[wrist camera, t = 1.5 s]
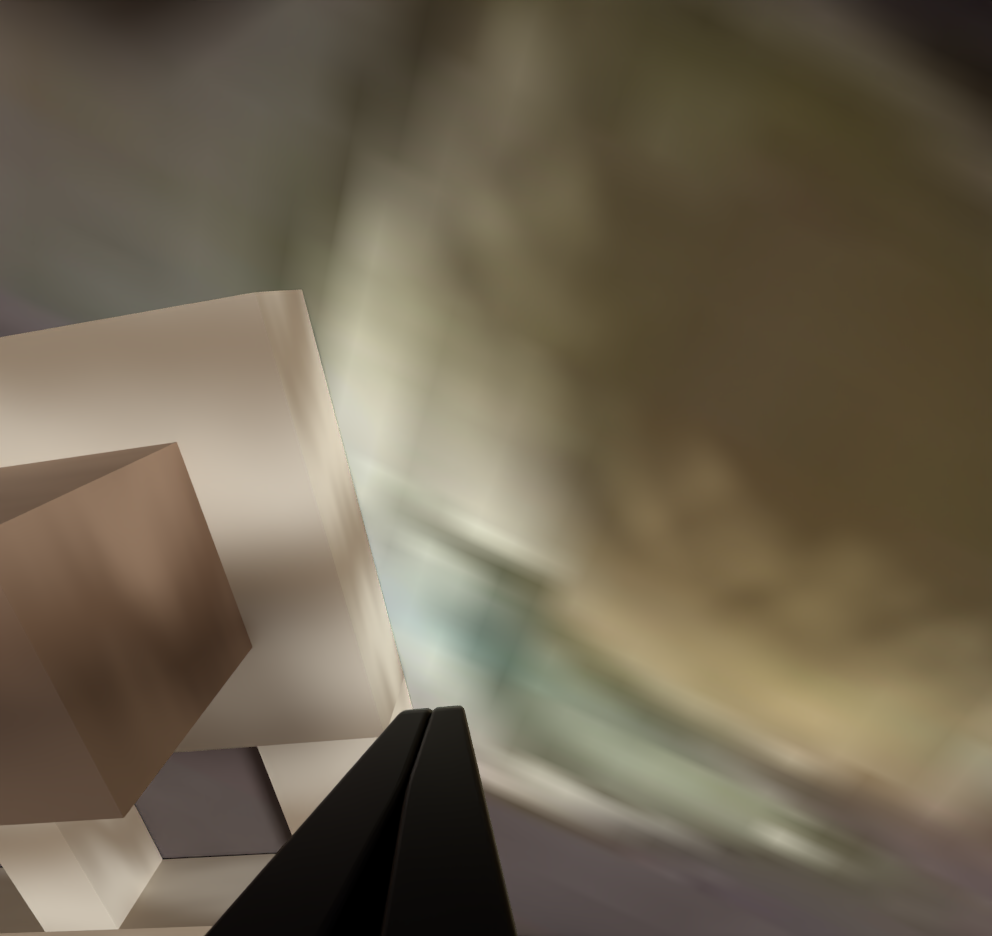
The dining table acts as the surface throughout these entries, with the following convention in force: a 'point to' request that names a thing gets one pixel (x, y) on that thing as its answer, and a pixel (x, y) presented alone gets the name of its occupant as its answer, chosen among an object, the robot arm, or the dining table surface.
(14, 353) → the trap deck
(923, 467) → the dining table surface
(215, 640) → the walnut block
